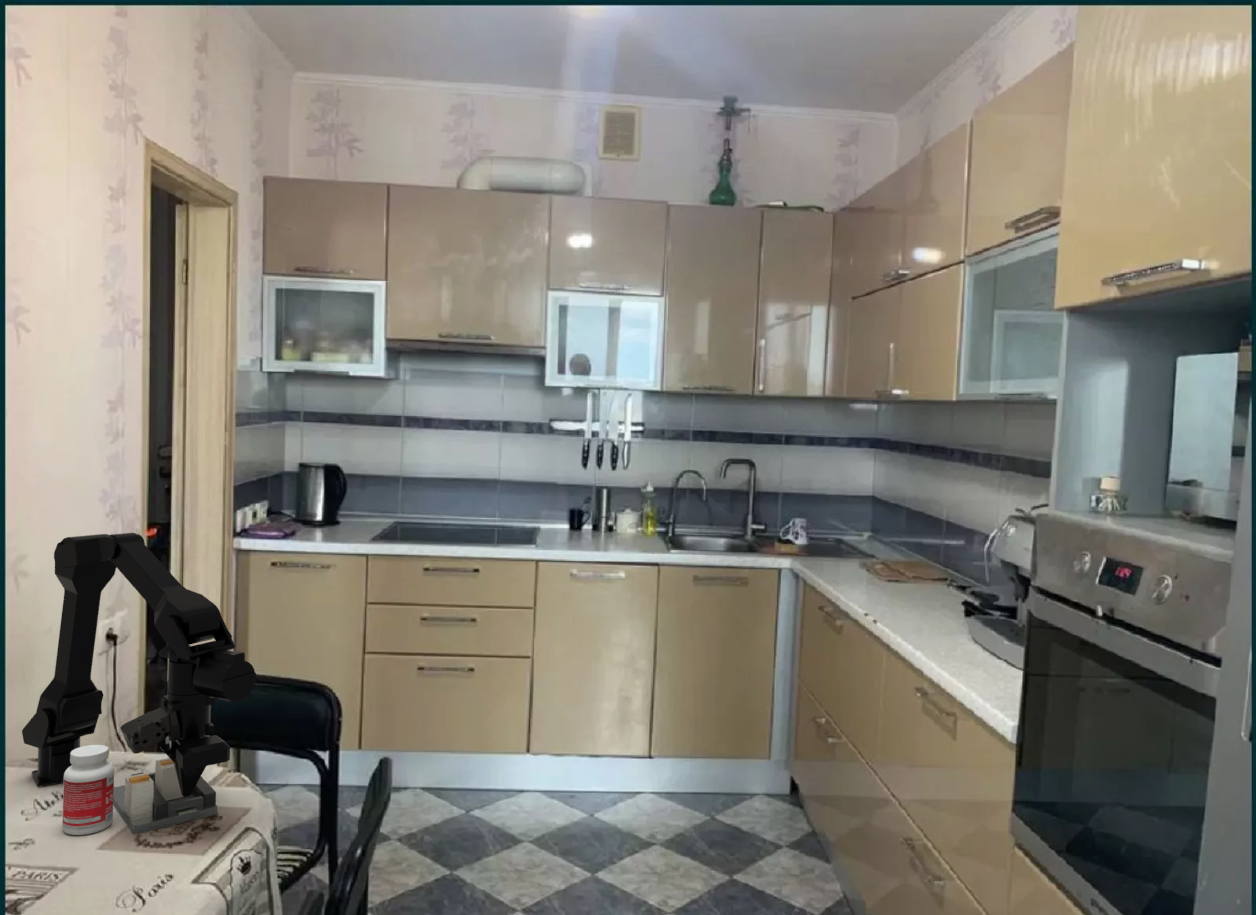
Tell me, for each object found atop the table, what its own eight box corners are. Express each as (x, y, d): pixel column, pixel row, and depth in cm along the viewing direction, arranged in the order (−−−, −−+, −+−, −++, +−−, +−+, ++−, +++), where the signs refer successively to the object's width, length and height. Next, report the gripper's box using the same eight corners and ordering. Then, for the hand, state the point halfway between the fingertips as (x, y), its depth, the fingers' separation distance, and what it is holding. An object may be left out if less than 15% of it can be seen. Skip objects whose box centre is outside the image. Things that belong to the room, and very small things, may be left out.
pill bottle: (114, 830, 125) (116, 753, 124) (62, 840, 121) (64, 760, 121) (111, 813, 130) (113, 739, 130) (61, 822, 127) (63, 746, 126)
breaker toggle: (154, 792, 135) (155, 758, 135) (183, 786, 137) (184, 752, 137) (161, 801, 132) (162, 766, 132) (190, 795, 134) (191, 760, 134)
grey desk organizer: (107, 796, 136) (108, 754, 136) (185, 779, 143) (187, 739, 143) (133, 834, 124) (134, 788, 124) (217, 814, 131) (218, 770, 131)
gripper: (111, 682, 130) (109, 787, 131) (144, 717, 117) (141, 833, 117) (192, 671, 138) (189, 770, 138) (232, 702, 124) (229, 812, 124)
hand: (186, 795), depth 129 cm, fingers closed
